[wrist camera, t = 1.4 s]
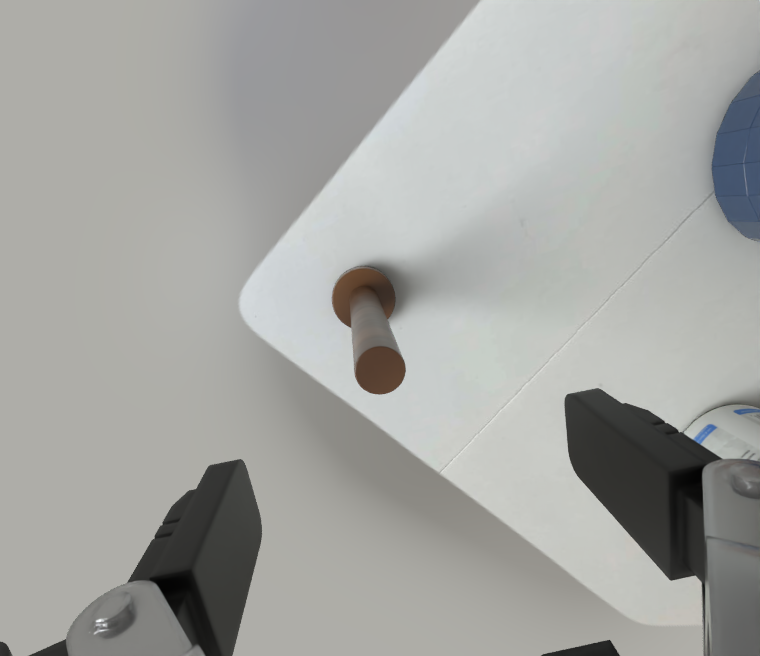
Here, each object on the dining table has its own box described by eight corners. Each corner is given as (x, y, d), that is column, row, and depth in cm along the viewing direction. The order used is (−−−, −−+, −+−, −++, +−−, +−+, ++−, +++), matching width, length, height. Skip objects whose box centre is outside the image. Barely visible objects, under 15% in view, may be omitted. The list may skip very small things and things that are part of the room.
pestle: (320, 304, 33) (301, 386, 18) (355, 253, 32) (365, 293, 17) (370, 337, 34) (393, 441, 19) (405, 288, 33) (458, 355, 18)
